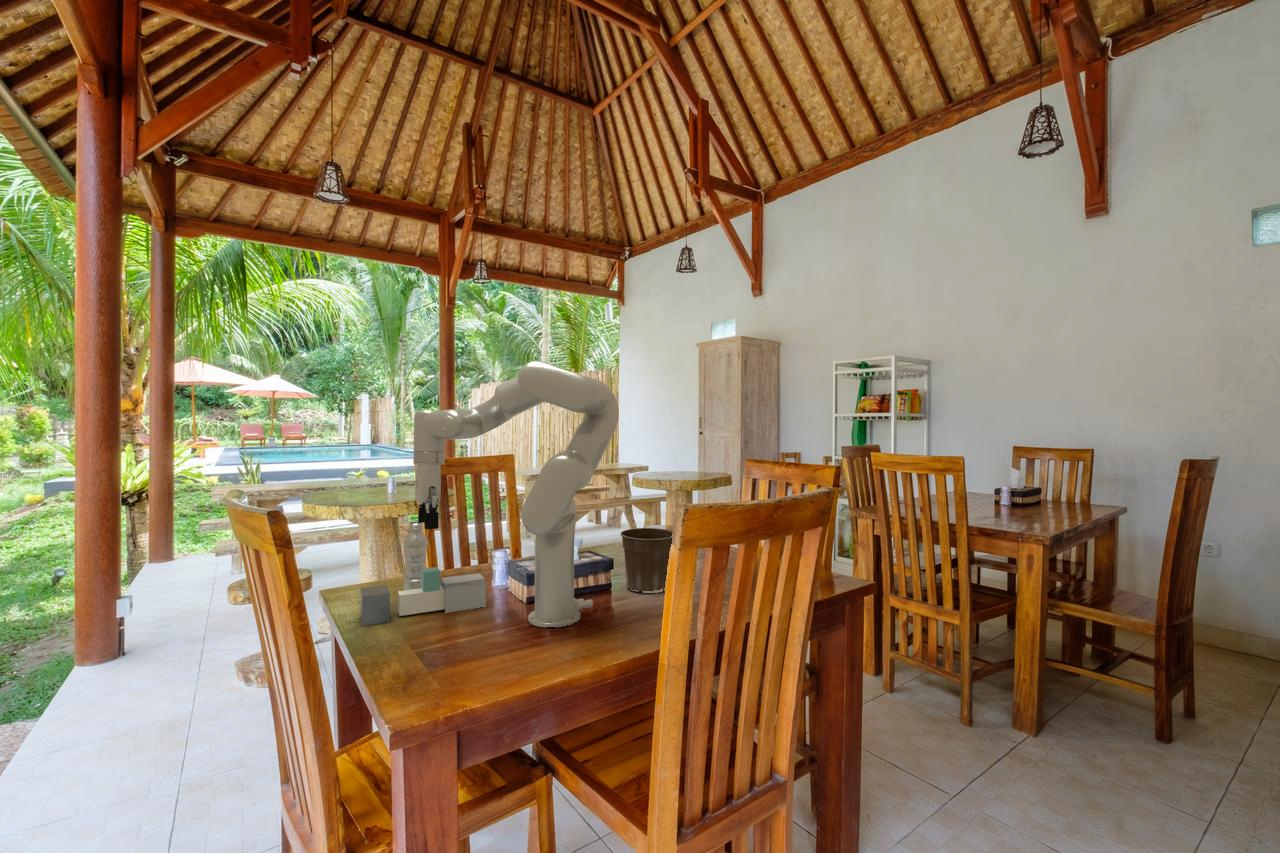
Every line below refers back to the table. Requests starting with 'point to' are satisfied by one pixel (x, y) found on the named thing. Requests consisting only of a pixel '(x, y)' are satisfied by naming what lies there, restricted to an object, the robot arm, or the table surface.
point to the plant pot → (646, 557)
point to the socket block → (375, 605)
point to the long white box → (423, 595)
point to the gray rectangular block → (464, 592)
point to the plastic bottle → (414, 555)
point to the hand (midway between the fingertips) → (428, 525)
